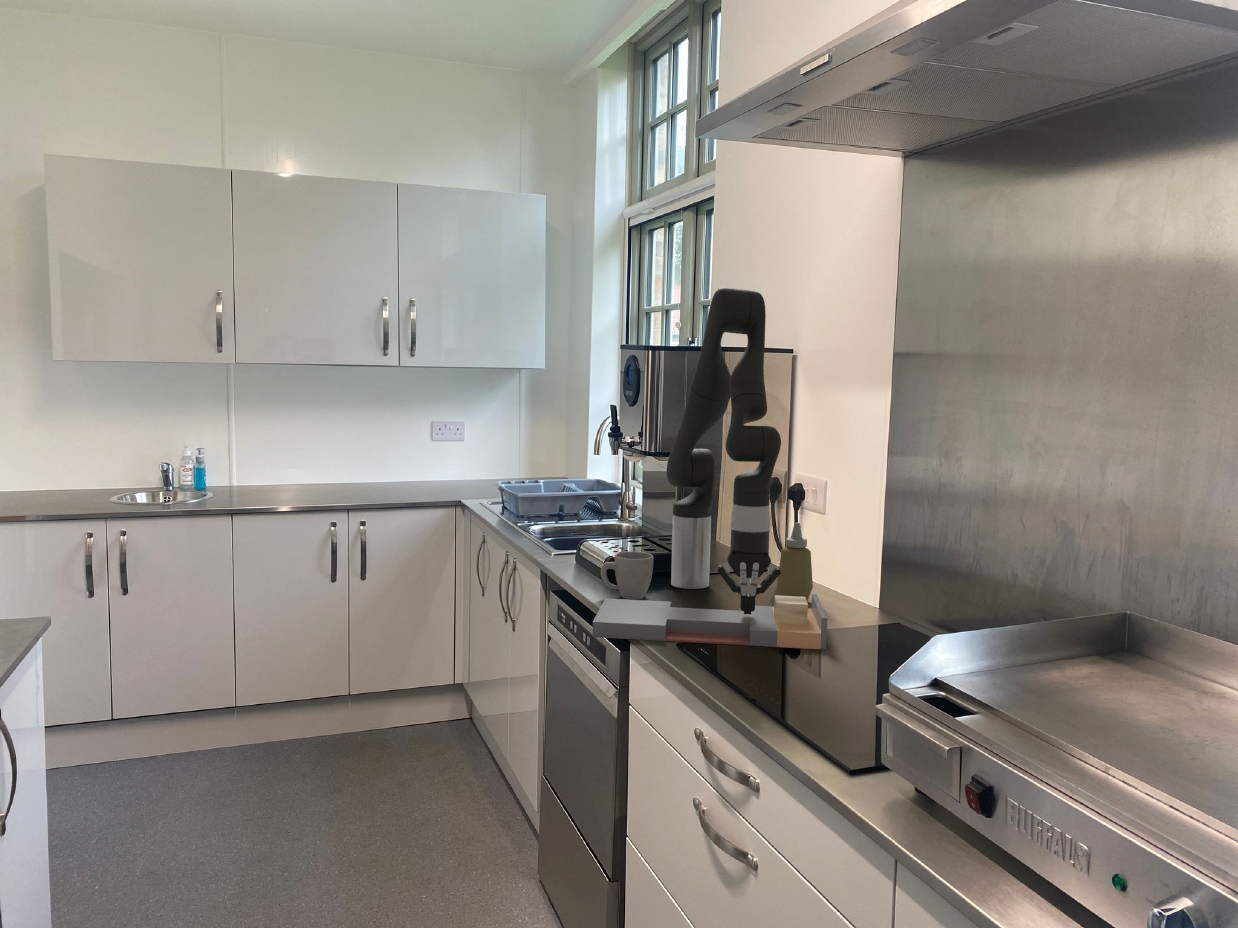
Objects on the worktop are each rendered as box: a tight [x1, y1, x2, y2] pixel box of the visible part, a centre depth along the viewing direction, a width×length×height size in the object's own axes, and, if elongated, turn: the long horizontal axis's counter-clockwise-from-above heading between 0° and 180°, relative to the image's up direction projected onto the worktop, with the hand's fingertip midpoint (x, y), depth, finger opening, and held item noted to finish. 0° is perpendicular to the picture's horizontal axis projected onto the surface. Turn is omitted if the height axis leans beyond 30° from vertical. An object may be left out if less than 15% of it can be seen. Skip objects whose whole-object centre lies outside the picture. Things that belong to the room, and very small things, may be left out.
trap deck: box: [592, 593, 828, 650], centre depth 171 cm, size 18×44×6 cm, turn 83°
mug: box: [600, 551, 654, 600], centre depth 196 cm, size 12×9×10 cm
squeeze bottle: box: [776, 522, 814, 602], centre depth 194 cm, size 8×8×18 cm
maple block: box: [773, 595, 809, 625], centre depth 168 cm, size 6×6×4 cm
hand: (747, 613), depth 170 cm, fingers closed
